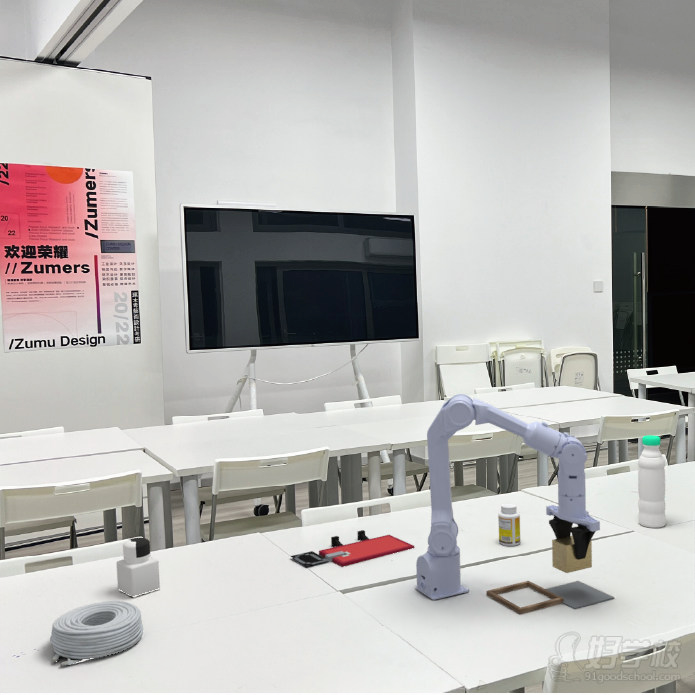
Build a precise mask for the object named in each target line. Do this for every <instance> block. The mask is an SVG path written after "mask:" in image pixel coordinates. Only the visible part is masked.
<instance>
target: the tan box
mask: <svg viewBox="0 0 695 695" xmlns="http://www.w3.org/2000/svg"><path fill="white" fill-rule="evenodd" d="M592 545H593V544H592V539H591V541H590V543H589V546H588V550H587V553H586V557H585V558H584V559H580V560H578V559H576V556H575V545H574V540H573V536H572V535H570V536H568V537H563V538H559V539H556V538H554V539H552V540H551V553H552V558H551V559H552V562H551V563H552V568H555V569H556V570H559V571H561V572H563V573H565V574H570V573H574V572H578V571H582V570H585V569H589V568H590V569H591V568H592V567H593V563H592V562H593V560H592V559H593V558H592V557H593V554H592V552H593V549H592V548H593V546H592Z"/></svg>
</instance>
